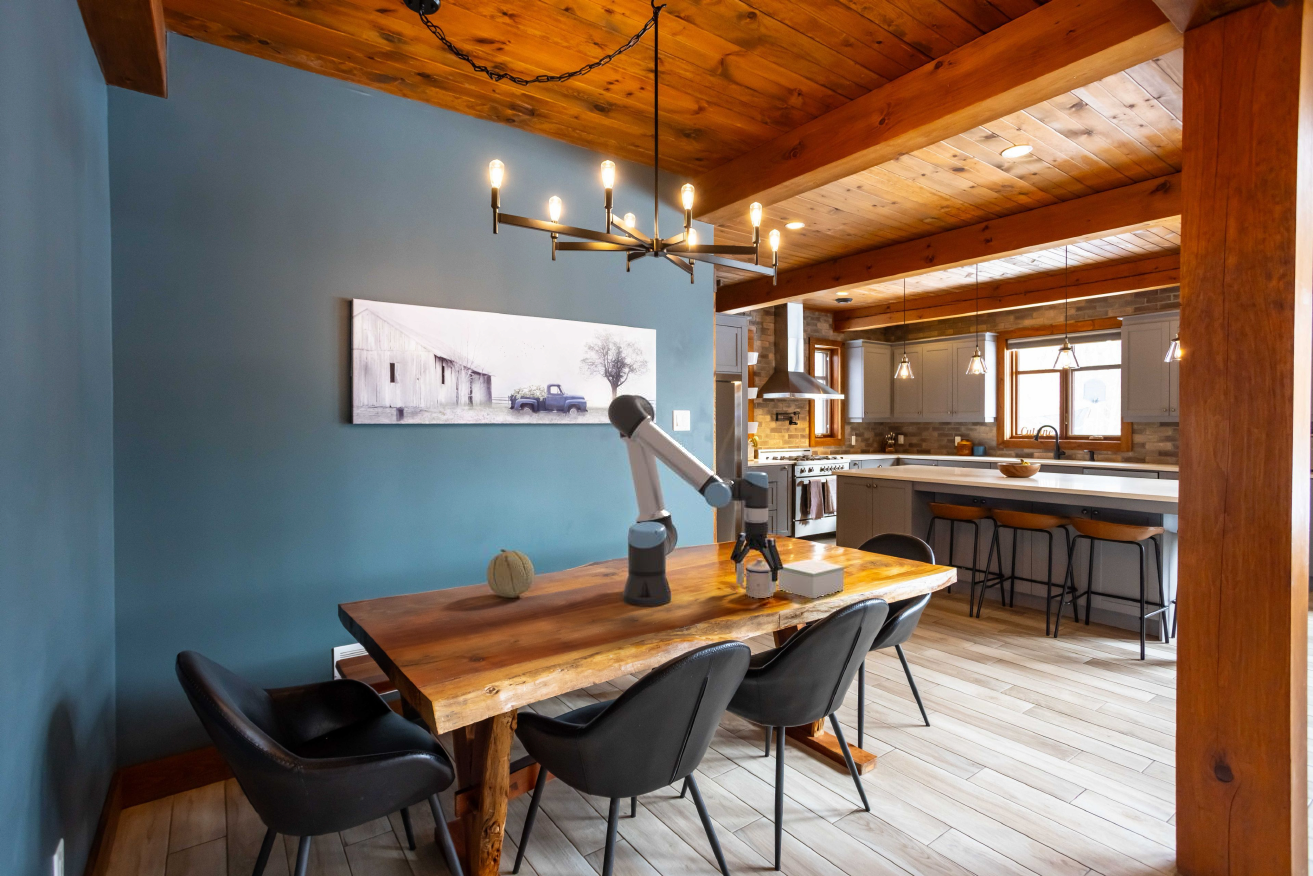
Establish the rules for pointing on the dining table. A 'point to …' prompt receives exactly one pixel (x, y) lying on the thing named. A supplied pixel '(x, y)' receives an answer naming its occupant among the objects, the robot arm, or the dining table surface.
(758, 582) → the teacup with lid
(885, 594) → the dining table surface
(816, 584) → the stand
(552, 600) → the dining table surface
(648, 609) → the dining table surface
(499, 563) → the cantaloupe
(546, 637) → the dining table surface
